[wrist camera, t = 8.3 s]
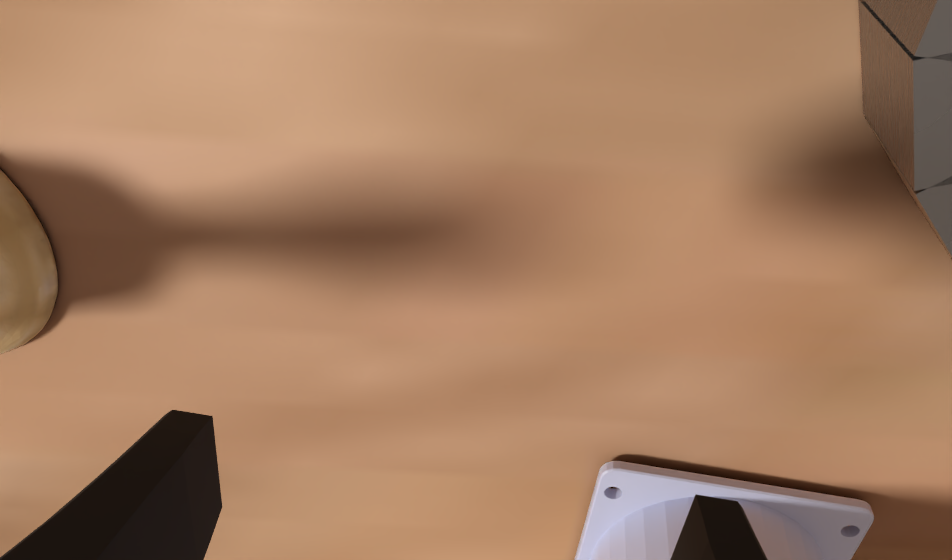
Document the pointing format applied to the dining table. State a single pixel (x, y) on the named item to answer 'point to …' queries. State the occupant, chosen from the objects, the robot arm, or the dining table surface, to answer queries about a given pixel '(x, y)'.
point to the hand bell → (23, 270)
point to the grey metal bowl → (912, 97)
